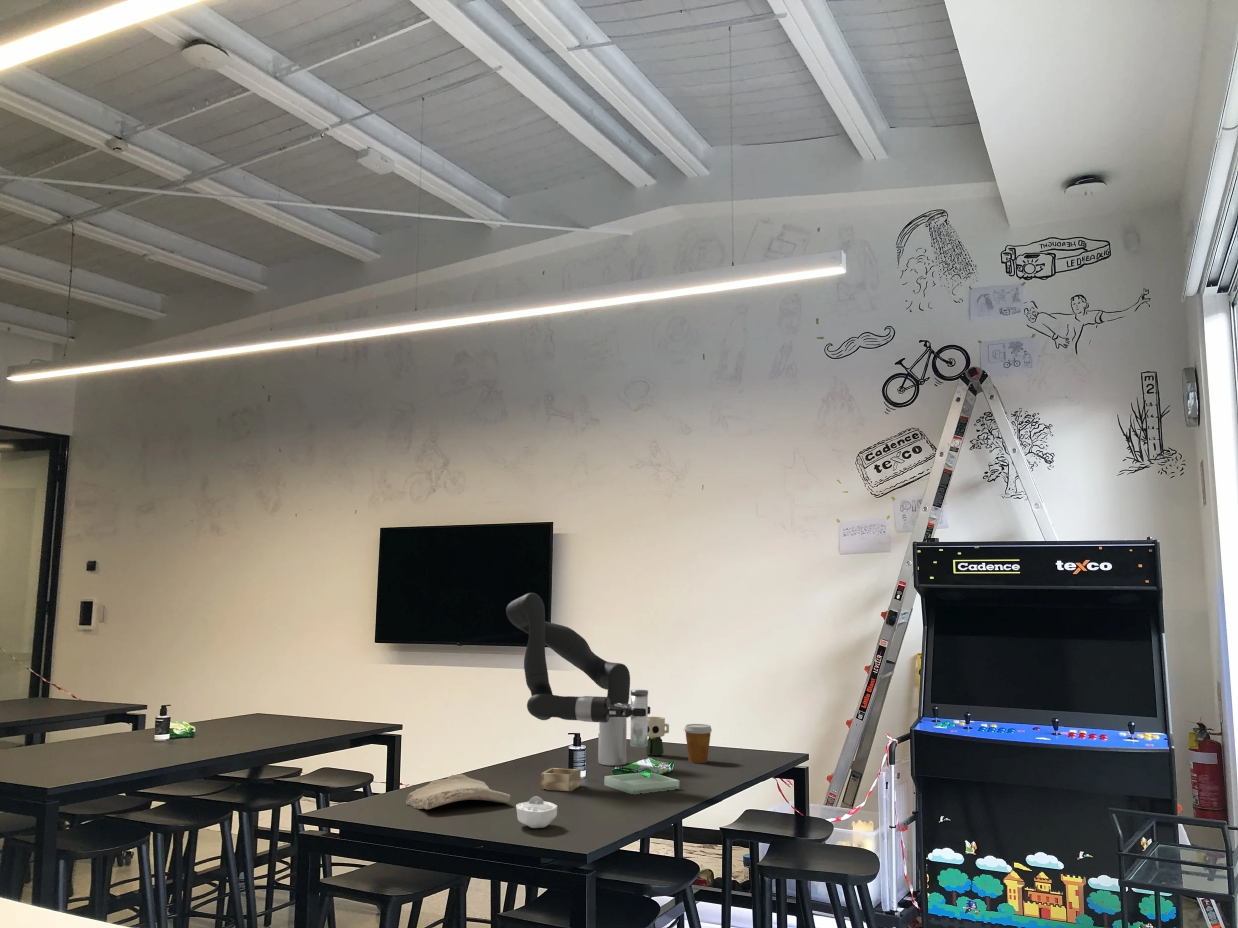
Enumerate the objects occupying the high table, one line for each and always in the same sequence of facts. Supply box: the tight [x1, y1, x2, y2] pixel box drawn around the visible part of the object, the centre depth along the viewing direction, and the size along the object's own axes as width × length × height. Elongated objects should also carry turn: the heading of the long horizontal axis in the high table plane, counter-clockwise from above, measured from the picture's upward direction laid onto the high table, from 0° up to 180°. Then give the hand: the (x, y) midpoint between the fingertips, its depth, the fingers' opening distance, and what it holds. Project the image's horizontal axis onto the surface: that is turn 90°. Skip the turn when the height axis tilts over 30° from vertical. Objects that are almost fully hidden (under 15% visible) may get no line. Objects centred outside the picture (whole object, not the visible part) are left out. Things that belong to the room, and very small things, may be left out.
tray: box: [604, 771, 680, 795], centre depth 286 cm, size 16×16×2 cm
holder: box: [540, 767, 582, 792], centre depth 285 cm, size 9×9×4 cm
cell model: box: [515, 795, 558, 829], centre depth 236 cm, size 10×12×7 cm
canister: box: [630, 689, 649, 748], centre depth 289 cm, size 5×5×16 cm
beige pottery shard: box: [405, 773, 511, 810], centre depth 261 cm, size 24×8×20 cm
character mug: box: [645, 716, 670, 757], centre depth 345 cm, size 11×7×13 cm, turn 64°
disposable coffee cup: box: [683, 723, 713, 764], centre depth 332 cm, size 10×10×12 cm
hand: (647, 711), depth 288 cm, fingers closed on canister, 5 cm apart
